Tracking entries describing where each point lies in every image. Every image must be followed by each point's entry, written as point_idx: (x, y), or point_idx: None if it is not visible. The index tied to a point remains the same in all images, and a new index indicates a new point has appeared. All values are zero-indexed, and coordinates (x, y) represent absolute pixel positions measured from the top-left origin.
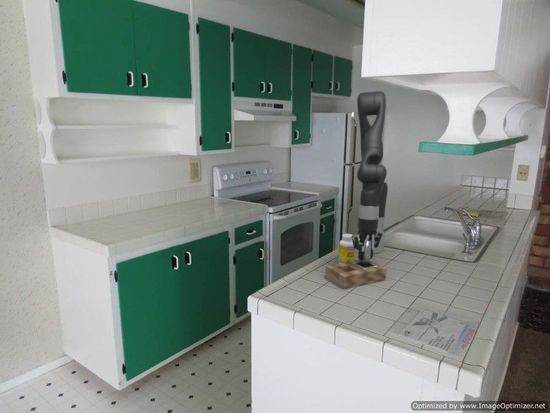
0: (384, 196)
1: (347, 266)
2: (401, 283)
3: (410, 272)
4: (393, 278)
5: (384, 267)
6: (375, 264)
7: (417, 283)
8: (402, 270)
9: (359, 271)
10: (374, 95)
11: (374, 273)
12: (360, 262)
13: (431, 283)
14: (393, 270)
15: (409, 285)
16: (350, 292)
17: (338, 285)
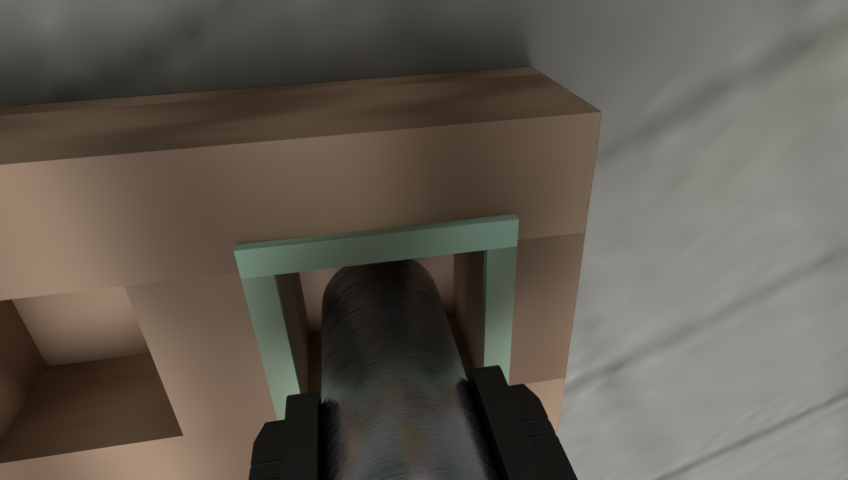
0: None
1: (121, 277)
2: (579, 413)
3: (842, 270)
4: (607, 333)
5: (555, 427)
6: (535, 343)
7: (676, 431)
8: (838, 214)
9: (198, 469)
10: None
11: None
12: (326, 346)
13: (750, 444)
14: (775, 188)
15: (600, 445)
16: None
17: None
